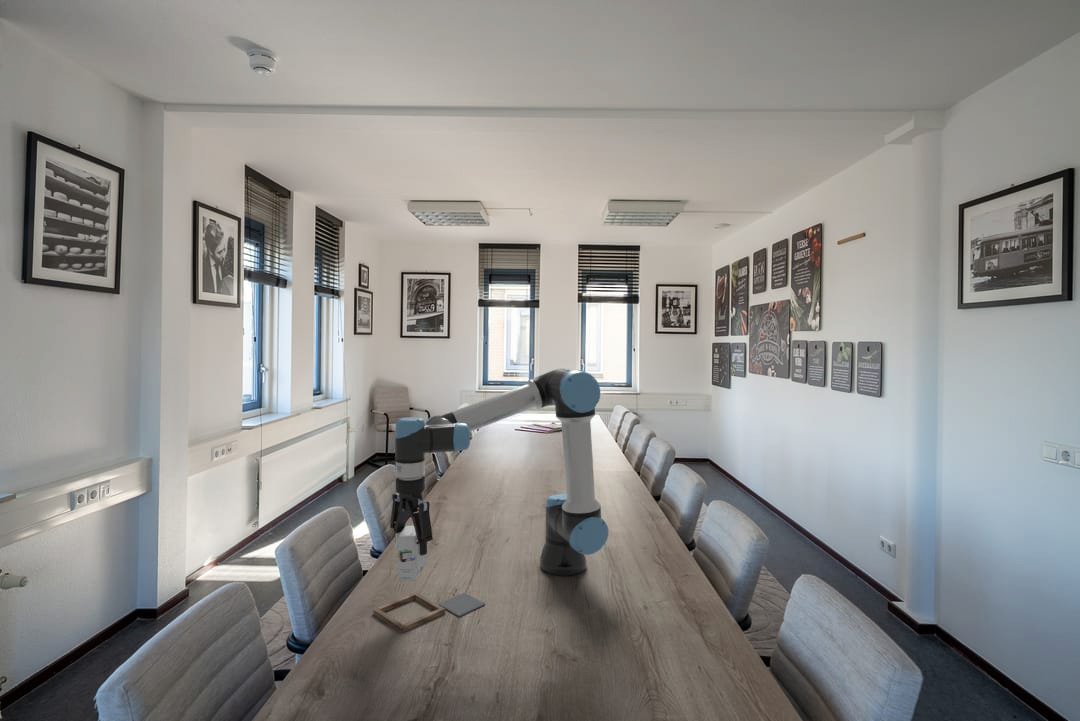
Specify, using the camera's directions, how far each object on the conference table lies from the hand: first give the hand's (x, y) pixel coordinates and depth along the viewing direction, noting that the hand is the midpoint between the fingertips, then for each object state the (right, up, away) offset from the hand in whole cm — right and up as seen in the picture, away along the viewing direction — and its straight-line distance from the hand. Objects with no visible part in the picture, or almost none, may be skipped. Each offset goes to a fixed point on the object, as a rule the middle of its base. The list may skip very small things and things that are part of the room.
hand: (410, 561), depth 138 cm
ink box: (0, -4, 0) cm, 4 cm away
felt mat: (+13, -14, +5) cm, 20 cm away
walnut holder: (0, -14, 0) cm, 14 cm away
